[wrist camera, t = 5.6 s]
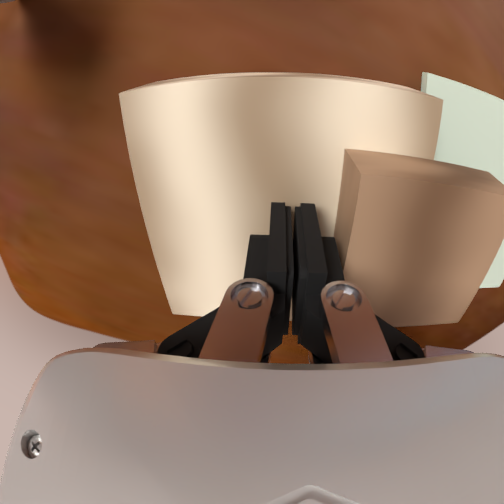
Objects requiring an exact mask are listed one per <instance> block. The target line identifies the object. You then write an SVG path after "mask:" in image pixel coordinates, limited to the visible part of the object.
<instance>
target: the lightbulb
mask: <svg viewBox="0 0 504 504" xmlns="http://www.w3.org/2000/svg"><path fill="white" fill-rule="evenodd" d="M12 1H15V0H0V3H7V2H12Z"/></svg>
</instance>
